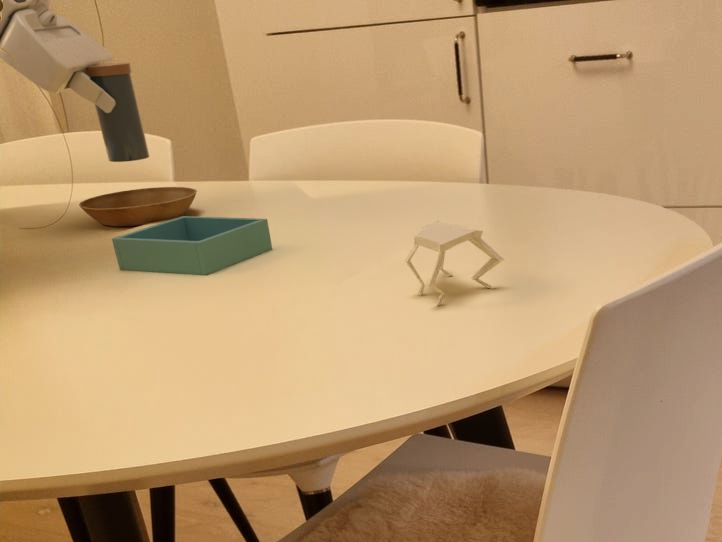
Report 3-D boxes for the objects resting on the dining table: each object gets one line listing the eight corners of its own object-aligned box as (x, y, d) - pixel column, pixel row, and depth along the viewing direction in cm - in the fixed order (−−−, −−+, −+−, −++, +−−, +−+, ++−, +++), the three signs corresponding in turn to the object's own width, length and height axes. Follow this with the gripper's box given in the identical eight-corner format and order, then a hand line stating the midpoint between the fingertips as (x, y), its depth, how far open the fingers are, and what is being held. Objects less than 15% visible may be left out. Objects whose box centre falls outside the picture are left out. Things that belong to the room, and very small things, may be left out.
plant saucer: (83, 235, 116) (77, 212, 114) (85, 215, 127) (79, 194, 126) (205, 221, 119) (200, 198, 117) (196, 203, 131) (192, 182, 129)
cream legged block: (517, 295, 82) (515, 235, 79) (426, 310, 80) (420, 248, 77) (471, 267, 91) (468, 212, 88) (388, 279, 89) (382, 223, 86)
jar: (97, 162, 118) (73, 67, 113) (127, 155, 122) (105, 63, 117) (131, 162, 116) (108, 66, 111) (160, 155, 120) (139, 62, 115)
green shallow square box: (120, 274, 97) (111, 238, 95) (190, 249, 105) (183, 216, 103) (207, 280, 93) (199, 242, 91) (273, 253, 101) (267, 218, 99)
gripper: (33, 35, 120) (130, 117, 126) (-33, 43, 103) (83, 137, 109) (57, -10, 118) (155, 76, 123) (-6, -9, 101) (110, 90, 106)
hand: (121, 105), depth 116 cm, fingers closed on jar, 5 cm apart
